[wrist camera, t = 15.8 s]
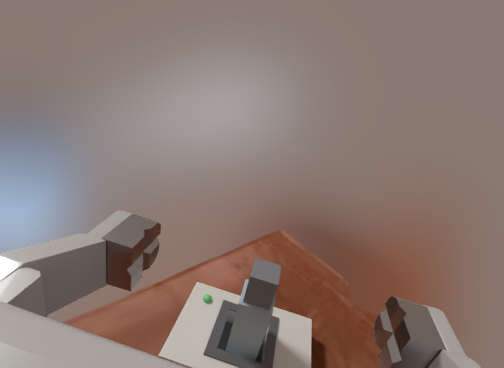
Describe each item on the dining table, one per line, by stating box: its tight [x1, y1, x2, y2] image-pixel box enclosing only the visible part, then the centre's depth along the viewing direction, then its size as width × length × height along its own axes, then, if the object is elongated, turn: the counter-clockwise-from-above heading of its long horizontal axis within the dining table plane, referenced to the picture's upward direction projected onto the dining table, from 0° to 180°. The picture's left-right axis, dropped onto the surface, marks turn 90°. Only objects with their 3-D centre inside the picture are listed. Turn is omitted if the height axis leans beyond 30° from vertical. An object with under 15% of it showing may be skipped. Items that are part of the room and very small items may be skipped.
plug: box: [225, 258, 281, 361], centre depth 35 cm, size 4×4×14 cm
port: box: [158, 282, 311, 368], centre depth 38 cm, size 18×12×3 cm, turn 78°
